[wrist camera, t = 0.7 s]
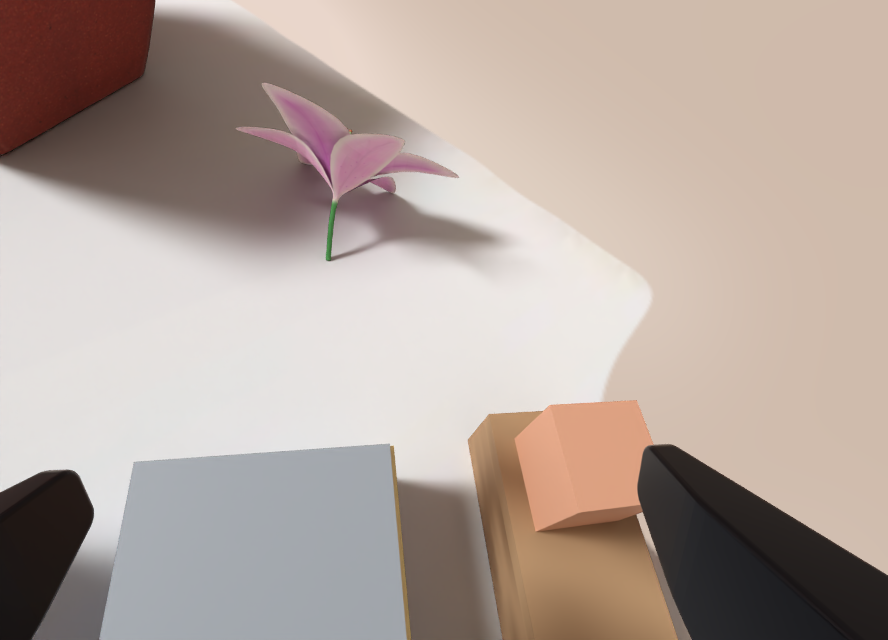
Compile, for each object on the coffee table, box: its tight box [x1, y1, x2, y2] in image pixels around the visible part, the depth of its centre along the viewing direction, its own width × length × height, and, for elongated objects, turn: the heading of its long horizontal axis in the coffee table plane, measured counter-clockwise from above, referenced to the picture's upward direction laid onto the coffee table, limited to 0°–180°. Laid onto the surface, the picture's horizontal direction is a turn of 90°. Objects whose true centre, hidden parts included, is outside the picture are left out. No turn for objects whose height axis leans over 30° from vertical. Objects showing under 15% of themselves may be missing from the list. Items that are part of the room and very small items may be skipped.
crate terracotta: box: [514, 400, 654, 532], centre depth 20 cm, size 4×4×4 cm
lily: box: [236, 83, 459, 261], centre depth 28 cm, size 12×12×10 cm
